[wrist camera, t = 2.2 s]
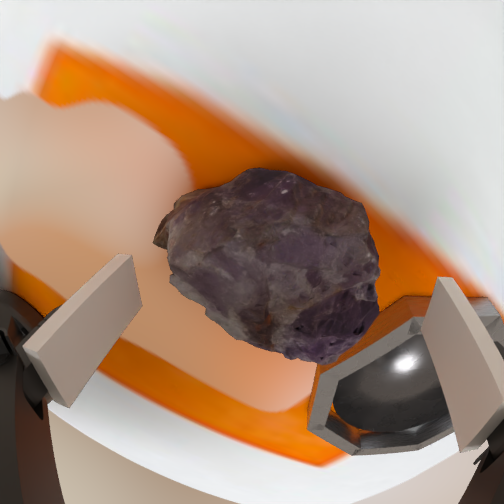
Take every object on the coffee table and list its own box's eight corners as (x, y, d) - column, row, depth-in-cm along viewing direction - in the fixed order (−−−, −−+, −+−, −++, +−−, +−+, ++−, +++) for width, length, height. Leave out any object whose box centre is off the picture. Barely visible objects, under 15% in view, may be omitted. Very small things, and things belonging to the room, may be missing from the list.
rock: (296, 308, 23) (390, 211, 19) (306, 406, 16) (451, 294, 12) (156, 231, 20) (238, 99, 16) (107, 322, 13) (217, 118, 8)
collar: (301, 436, 29) (299, 455, 27) (329, 292, 21) (331, 314, 19) (453, 427, 27) (457, 443, 24) (529, 296, 18) (542, 312, 16)
